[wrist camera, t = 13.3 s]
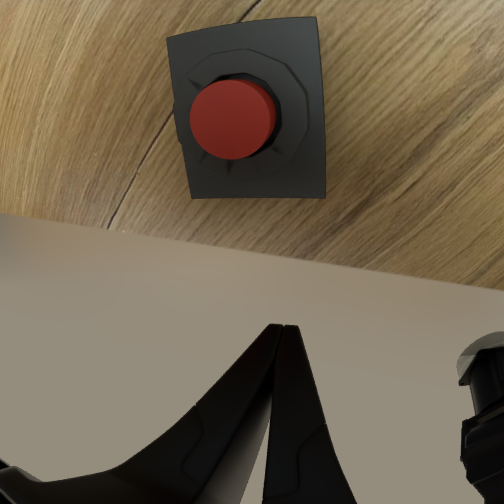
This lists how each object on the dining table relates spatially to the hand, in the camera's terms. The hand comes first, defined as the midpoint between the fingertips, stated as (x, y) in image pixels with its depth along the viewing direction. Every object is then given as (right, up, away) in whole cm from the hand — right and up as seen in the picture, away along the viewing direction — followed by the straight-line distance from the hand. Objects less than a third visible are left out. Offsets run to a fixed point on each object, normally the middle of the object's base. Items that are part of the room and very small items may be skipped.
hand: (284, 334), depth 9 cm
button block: (-1, +11, +8) cm, 13 cm away
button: (-2, +9, +5) cm, 10 cm away
